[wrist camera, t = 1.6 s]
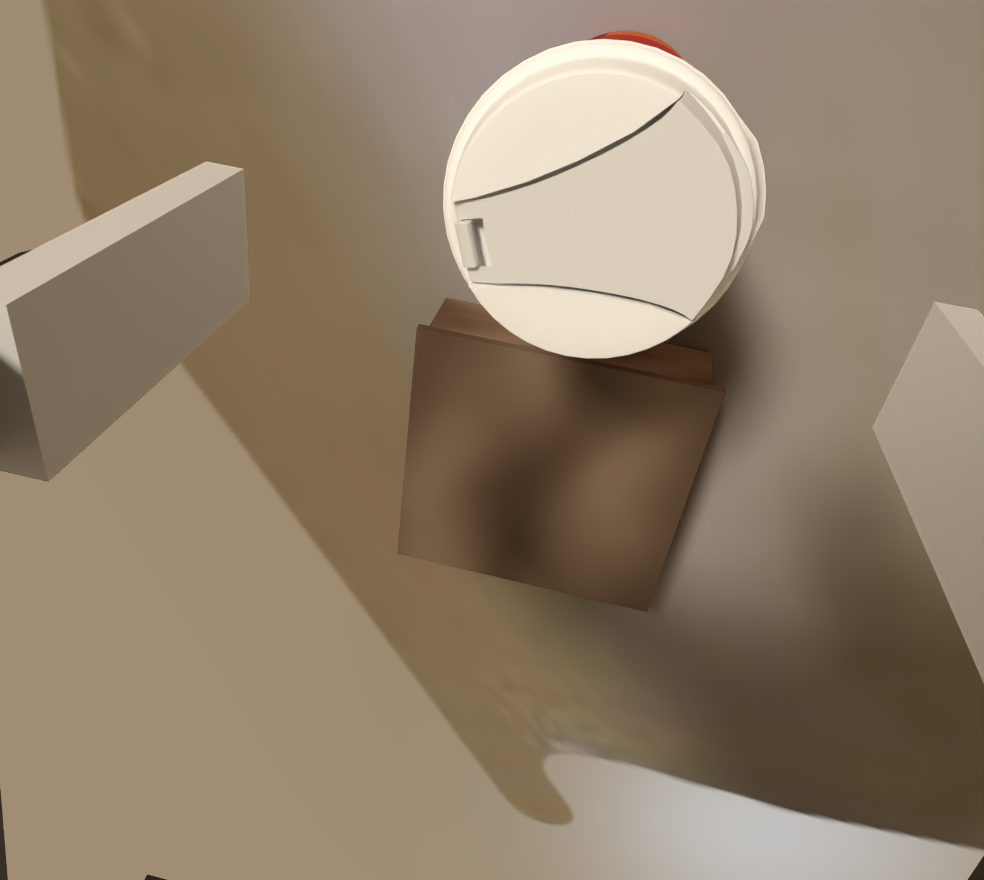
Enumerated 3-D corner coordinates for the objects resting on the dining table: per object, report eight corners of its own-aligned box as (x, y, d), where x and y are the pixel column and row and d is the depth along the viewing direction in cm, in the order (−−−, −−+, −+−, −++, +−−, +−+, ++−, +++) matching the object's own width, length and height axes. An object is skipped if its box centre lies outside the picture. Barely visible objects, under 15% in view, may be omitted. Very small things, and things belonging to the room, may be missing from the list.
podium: (719, 347, 34) (724, 392, 31) (648, 557, 41) (647, 611, 38) (440, 290, 35) (416, 328, 32) (418, 504, 42) (397, 553, 39)
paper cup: (537, 224, 32) (466, 387, 21) (504, 19, 28) (395, 81, 17) (732, 199, 30) (772, 363, 19) (727, -26, 26) (772, 11, 15)
